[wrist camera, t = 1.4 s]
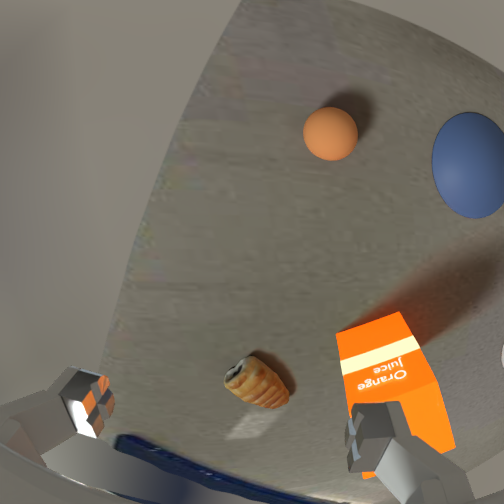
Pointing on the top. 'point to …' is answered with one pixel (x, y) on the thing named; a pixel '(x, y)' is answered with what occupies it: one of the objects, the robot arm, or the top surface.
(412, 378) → the orange juice
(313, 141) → the ball
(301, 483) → the top surface
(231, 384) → the pastry
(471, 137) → the blue flat disc
